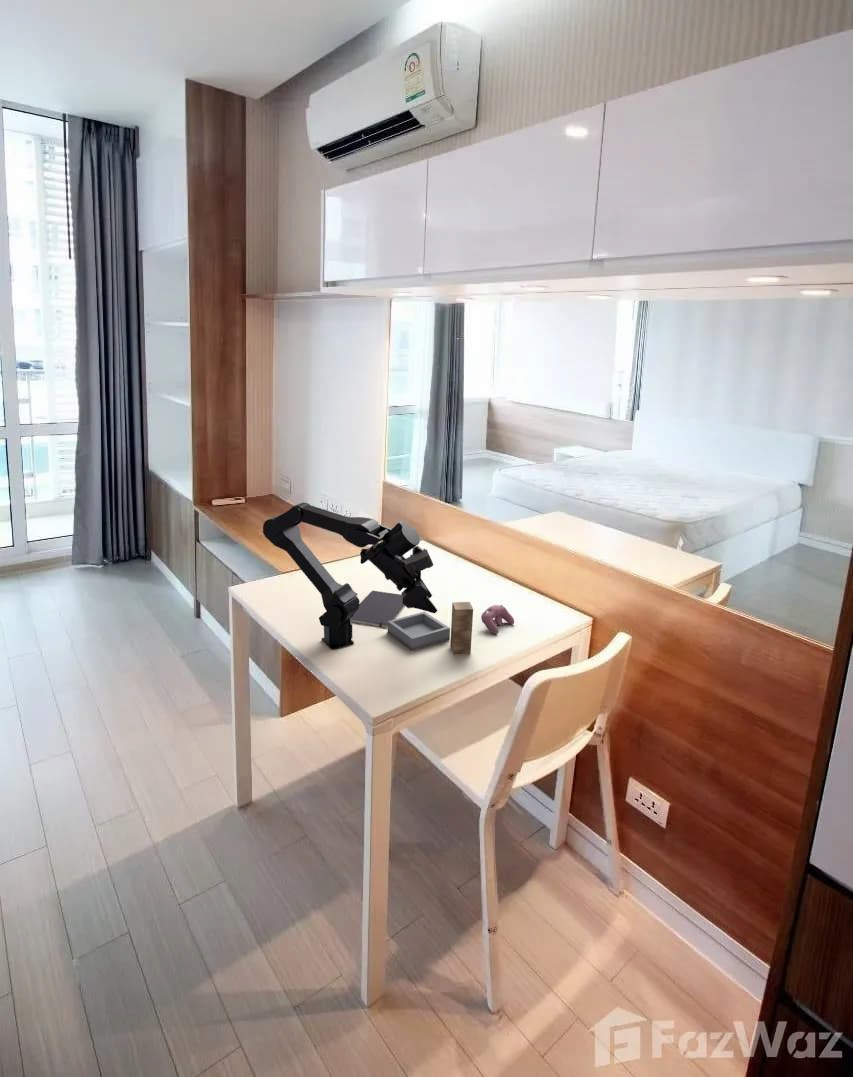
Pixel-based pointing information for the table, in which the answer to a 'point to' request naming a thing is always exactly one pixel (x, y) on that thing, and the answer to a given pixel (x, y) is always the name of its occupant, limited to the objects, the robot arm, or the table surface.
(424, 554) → the robot arm
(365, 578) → the table surface
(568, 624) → the table surface
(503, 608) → the video game controller
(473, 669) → the table surface
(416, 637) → the tray
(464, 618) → the walnut handle block
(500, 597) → the table surface
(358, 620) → the notebook
